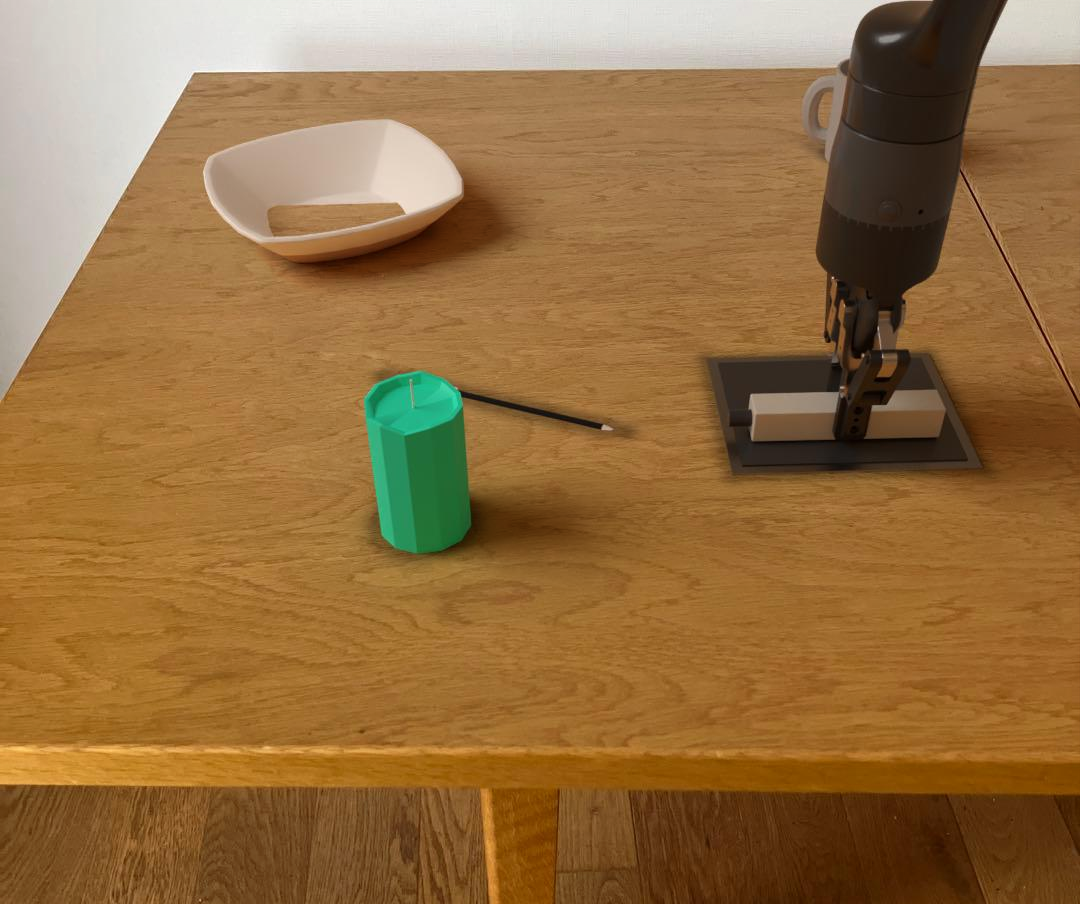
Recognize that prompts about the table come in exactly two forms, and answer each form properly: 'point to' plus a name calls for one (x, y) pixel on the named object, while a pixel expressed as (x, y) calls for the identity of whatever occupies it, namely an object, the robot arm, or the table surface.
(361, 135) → the bowl
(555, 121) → the table surface
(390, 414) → the candle
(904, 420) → the stylus
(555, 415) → the black pencil
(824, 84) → the cup
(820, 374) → the tablet
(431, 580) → the table surface
